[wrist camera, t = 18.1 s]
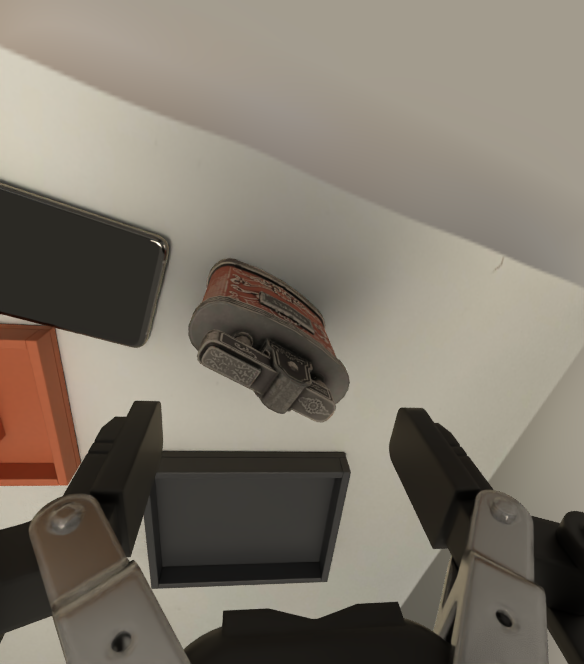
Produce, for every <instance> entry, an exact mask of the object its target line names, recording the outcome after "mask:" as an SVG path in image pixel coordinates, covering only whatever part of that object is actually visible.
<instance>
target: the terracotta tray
mask: <svg viewBox="0 0 584 664" xmlns="http://www.w3.org/2000/svg"><path fill="white" fill-rule="evenodd" d="M0 418H1V421H2V424H3V428H4V431H5V437H4V438H3V439H2V440H1V441H0V486H50V485H68V484H69V482H70V481H71V479H72V477H73V475H74V474H75V472H76V470H77V469H78V467H79V465H80V463H81V462H80V457H79V452H78V447H77V442H76V437H75V431H74V426H73V421H72V416H71V411H70V405H69V400H68V395H67V390H66V385H65V380H64V374H63V369H62V364H61V359H60V354H59V348H58V343H57V338H56V333H55V328H54V327H50V326H36V325H14V324H0Z"/></svg>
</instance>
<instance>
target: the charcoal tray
mask: <svg viewBox="0 0 584 664" xmlns="http://www.w3.org/2000/svg"><path fill="white" fill-rule="evenodd" d="M350 473H351V472H350V468H349V465H348V462H347V459H346V455H345V453H344V452H162V455H161V460H160V463H159V466H158V469H157V473H156V476H155V479H154V482H153V486H152V489H151V492H150V495H149V499H148V502H147V505H146V508H145V512H144V522H145V532H146V541H147V550H148V560H149V569H150V579H151V588H152V589H158V588H184V587H209V586H234V585H260V584H285V583H310V582H327V580H328V576H329V571H330V566H331V562H332V557H333V552H334V548H335V543H336V538H337V534H338V529H339V525H340V520H341V515H342V511H343V506H344V501H345V497H346V492H347V487H348V483H349V478H350Z"/></svg>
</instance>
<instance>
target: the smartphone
mask: <svg viewBox="0 0 584 664" xmlns="http://www.w3.org/2000/svg"><path fill="white" fill-rule="evenodd" d="M168 254H169V246H168V243H167V241H166V240H165V239H164V238H163V237H161V236H159V235H156V234H153V233H150V232H147V231H144V230H141V229H138V228H135V227H132V226H129V225H126V224H123V223H120V222H117V221H114V220H111V219H108V218H105V217H102V216H99V215H96V214H93V213H90V212H87V211H84V210H81V209H78V208H75V207H72V206H69V205H66V204H63V203H60V202H57V201H54V200H51V199H48V198H45V197H42V196H39V195H36V194H33V193H30V192H27V191H24V190H21V189H18V188H15V187H12V186H9V185H6V184H3V183H0V314H3V315H7V316H11V317H15V318H19V319H22V320H26V321H30V322H34V323H38V324H42V325H46V326H50V327H54V328H58V329H62V330H66V331H70V332H74V333H78V334H82V335H86V336H90V337H93V338H97V339H101V340H105V341H109V342H113V343H117V344H121V345H125V346H129V347H134V348H138V347H141V346H143V345H144V344H145V343H146V342H147V340H148V337H149V333H150V329H151V325H152V321H153V316H154V312H155V308H156V304H157V299H158V295H159V291H160V287H161V283H162V279H163V275H164V271H165V266H166V263H167V258H168Z"/></svg>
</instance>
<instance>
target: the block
mask: <svg viewBox="0 0 584 664" xmlns="http://www.w3.org/2000/svg"><path fill="white" fill-rule="evenodd" d="M4 437H5V431H4V428H3V424H2V421H1V418H0V441H1V440H2V439H3V438H4Z"/></svg>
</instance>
